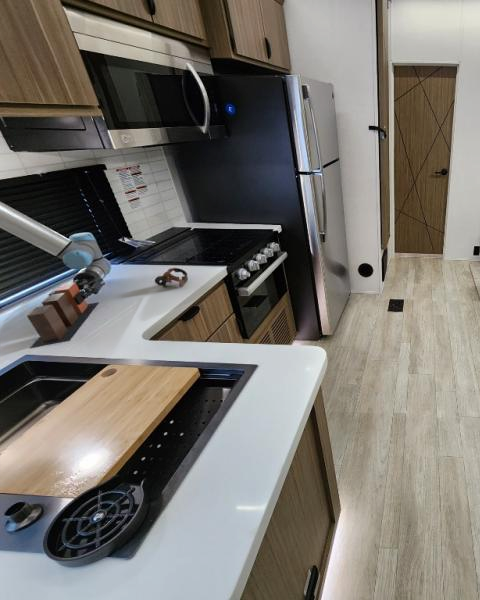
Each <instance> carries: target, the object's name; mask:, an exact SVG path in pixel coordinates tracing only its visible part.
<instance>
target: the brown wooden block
mask: <svg viewBox="0 0 480 600" xmlns="http://www.w3.org/2000/svg"><path fill="white" fill-rule="evenodd" d="M41 304H42V306H47V305H53V307H54V308H55V310H56V312H57V313H58V315H59V317H60V318H61V320H62V322H63V323H64V325H65V327H67V326H72V325H73V324H74V322H75V321H76V320H77V319H78V318H79V317H78V315H77V313H76V312H75V310H74V308H73V306H72V305H71V303H70V301H69V299H68V298H67V296H66V294H65V293H60V294H53V295H49V294H48V296H47V297H46V298H45V299H43V301H42V302H41Z"/></svg>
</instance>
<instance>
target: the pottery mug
mask: <svg viewBox="0 0 480 600" xmlns="http://www.w3.org/2000/svg"><path fill="white" fill-rule="evenodd" d="M172 272H175V273H181V274H183V276H181V278H180V277H179V276H178V275H177V276H176V275H174V274H172ZM188 280H189V277H188V273H187V271H186V270H184V269H182V268H180V267H170V268H168V269H167V271H165V272H164V273H163V274H162V275H158V276H157V277H155V279H154V284H156V285H157V286H159V287H162V288H167V283H168V284H169V283H172V282H173V281H174V282H178V283H179V284H178V287H179V288H183V287H184V286H185V285H186V283H187V282H188Z"/></svg>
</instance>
